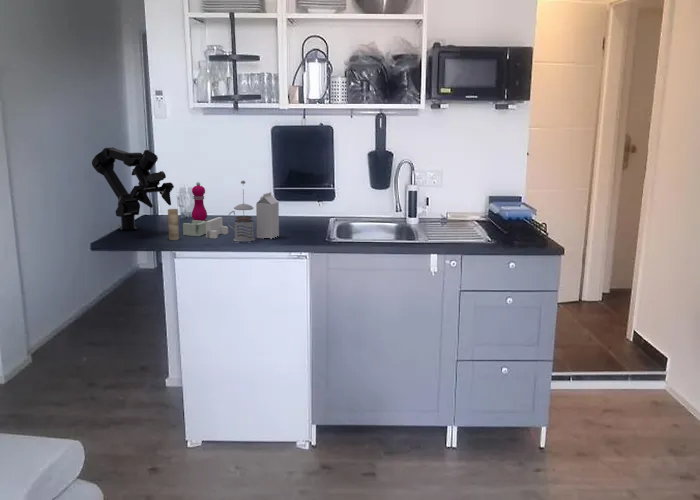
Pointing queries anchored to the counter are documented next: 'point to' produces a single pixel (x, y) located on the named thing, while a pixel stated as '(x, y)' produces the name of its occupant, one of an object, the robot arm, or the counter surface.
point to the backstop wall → (215, 228)
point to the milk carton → (267, 217)
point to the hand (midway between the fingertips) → (161, 206)
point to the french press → (247, 223)
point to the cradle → (194, 228)
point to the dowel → (173, 224)
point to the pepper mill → (199, 203)
